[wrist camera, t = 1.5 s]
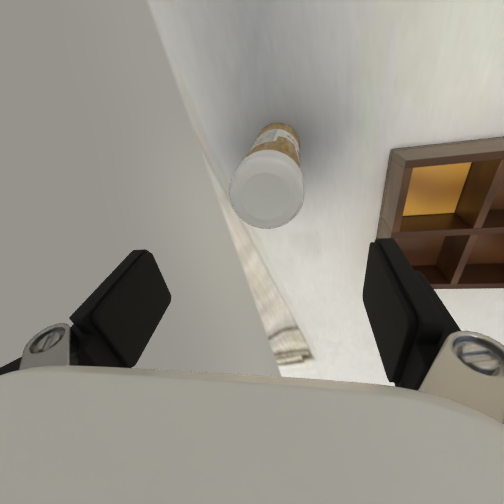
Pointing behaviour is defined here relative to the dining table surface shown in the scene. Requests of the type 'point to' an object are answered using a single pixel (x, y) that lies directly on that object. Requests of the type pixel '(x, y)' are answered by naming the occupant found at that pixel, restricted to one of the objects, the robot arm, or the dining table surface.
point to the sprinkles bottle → (269, 179)
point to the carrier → (448, 211)
